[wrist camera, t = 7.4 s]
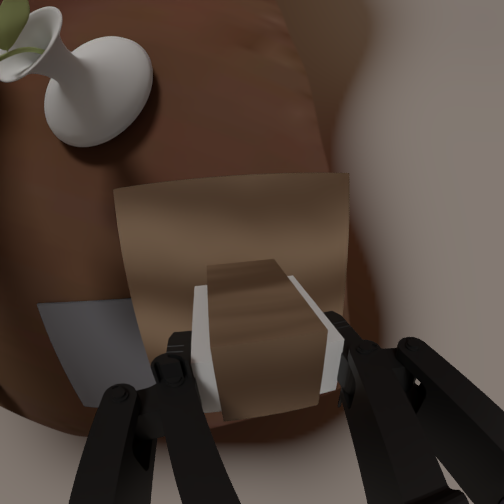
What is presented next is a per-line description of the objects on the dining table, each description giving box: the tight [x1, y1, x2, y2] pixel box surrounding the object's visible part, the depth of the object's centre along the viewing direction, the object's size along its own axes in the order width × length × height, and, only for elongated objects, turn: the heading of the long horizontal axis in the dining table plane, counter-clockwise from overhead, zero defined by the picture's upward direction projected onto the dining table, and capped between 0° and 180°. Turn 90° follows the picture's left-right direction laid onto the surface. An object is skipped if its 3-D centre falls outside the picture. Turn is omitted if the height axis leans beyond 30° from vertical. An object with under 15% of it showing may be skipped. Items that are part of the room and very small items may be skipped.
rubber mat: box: [37, 298, 156, 408], centre depth 28 cm, size 17×17×1 cm
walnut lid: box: [113, 173, 349, 421], centre depth 14 cm, size 14×14×9 cm
